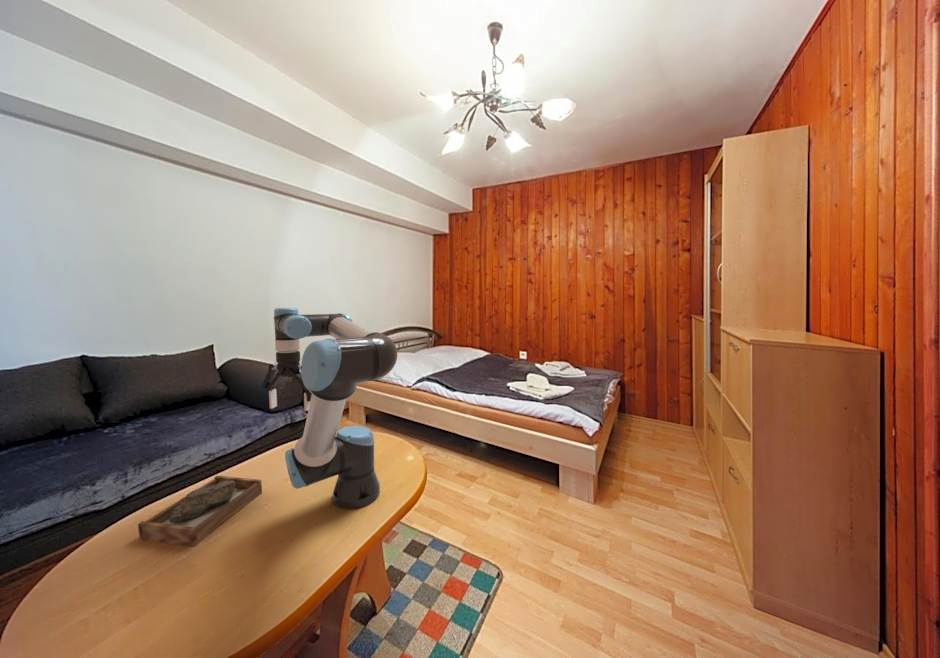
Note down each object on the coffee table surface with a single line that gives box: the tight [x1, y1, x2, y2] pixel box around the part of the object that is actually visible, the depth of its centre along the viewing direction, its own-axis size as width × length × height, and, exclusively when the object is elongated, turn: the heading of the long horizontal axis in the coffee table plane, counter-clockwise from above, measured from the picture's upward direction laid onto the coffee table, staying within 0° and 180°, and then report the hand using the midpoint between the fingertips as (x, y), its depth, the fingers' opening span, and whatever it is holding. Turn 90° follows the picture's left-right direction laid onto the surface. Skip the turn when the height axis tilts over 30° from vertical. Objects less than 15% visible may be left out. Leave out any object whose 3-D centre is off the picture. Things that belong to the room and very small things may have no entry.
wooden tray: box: [137, 475, 263, 548], centre depth 99 cm, size 17×24×5 cm
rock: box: [169, 480, 235, 522], centre depth 99 cm, size 17×7×10 cm
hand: (290, 408), depth 117 cm, fingers open, 13 cm apart
